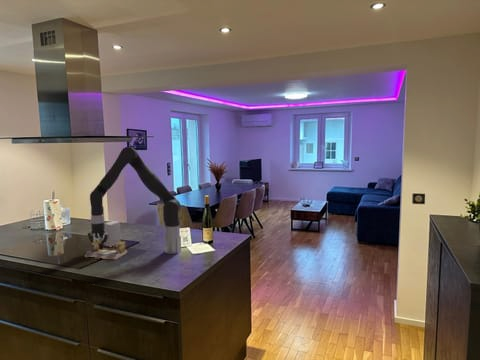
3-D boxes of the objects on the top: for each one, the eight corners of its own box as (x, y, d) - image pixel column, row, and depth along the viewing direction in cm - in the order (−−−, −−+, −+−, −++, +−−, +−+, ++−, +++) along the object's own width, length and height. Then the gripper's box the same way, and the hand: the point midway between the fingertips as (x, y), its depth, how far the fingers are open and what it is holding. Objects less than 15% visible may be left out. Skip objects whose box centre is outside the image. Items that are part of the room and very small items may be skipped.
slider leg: (103, 249, 197) (103, 239, 197) (95, 253, 189) (94, 243, 189) (99, 248, 198) (98, 239, 197) (90, 253, 190) (90, 243, 189)
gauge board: (127, 252, 197) (126, 240, 196) (115, 259, 184) (115, 247, 184) (98, 250, 201) (97, 238, 200) (84, 257, 188) (84, 245, 187)
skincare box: (114, 242, 217) (114, 220, 215) (121, 244, 213) (120, 221, 212) (104, 245, 209) (103, 223, 208) (110, 247, 206) (109, 224, 204)
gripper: (111, 221, 196) (112, 247, 198) (91, 219, 198) (92, 246, 200) (104, 223, 188) (105, 251, 190) (83, 222, 191) (84, 250, 193)
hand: (98, 248), depth 195 cm, fingers closed on slider leg, 3 cm apart
